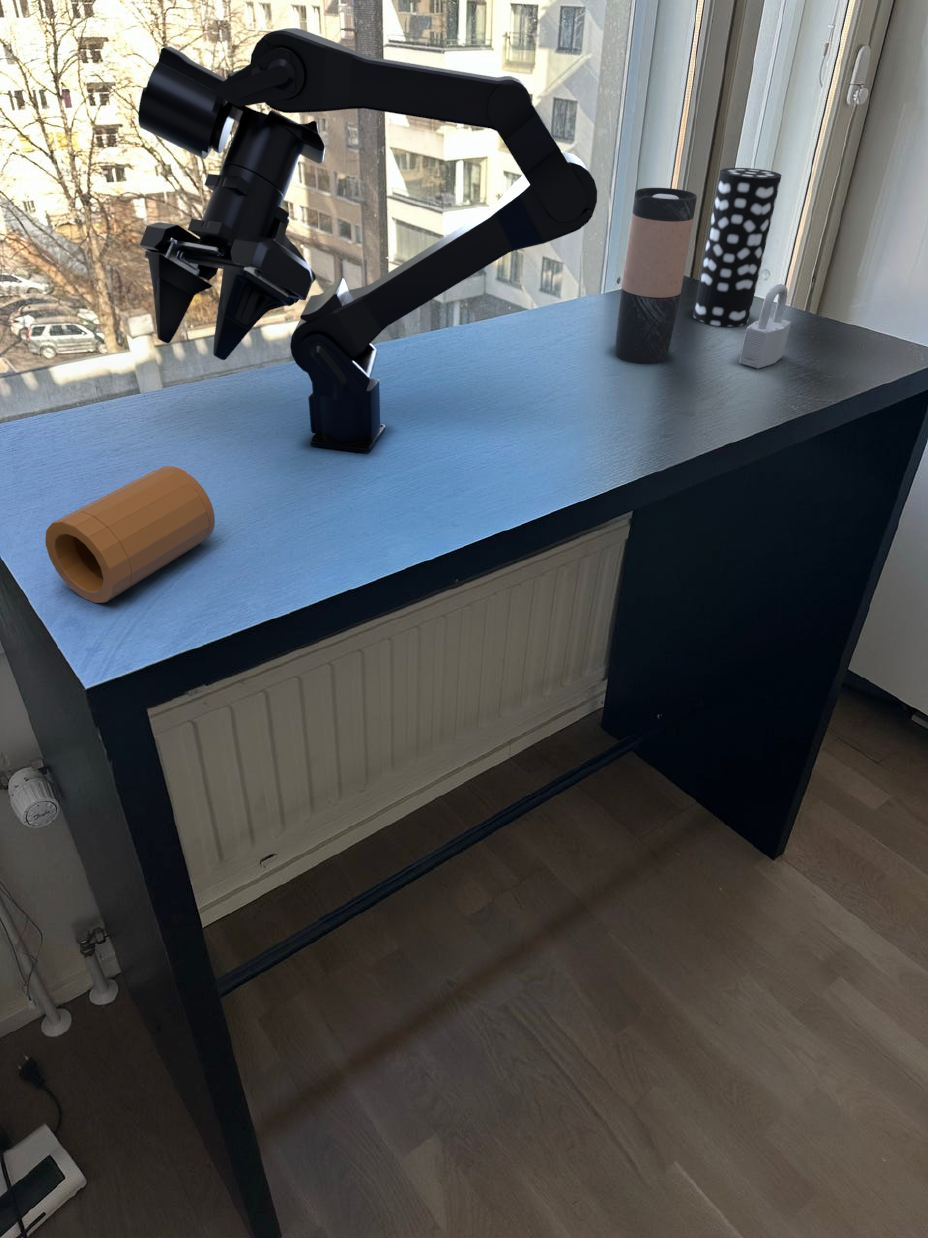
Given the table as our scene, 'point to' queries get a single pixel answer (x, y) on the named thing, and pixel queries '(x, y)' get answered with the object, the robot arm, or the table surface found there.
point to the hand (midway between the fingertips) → (190, 349)
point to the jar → (130, 533)
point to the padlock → (767, 332)
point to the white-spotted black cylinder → (735, 245)
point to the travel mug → (653, 273)
